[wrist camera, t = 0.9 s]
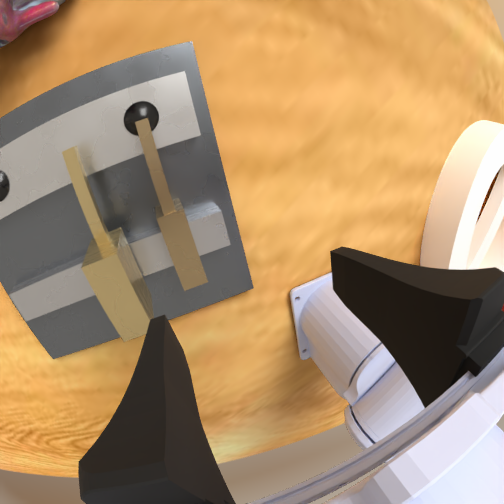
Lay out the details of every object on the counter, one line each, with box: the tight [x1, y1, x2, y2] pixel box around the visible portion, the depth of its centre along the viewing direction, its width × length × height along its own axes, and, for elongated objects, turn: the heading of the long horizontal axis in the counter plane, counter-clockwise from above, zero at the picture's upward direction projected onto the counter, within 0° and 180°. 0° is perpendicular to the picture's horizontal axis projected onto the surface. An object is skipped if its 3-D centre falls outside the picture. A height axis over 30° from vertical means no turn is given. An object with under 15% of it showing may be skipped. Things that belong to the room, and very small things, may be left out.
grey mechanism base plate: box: [0, 41, 253, 359], centre depth 16 cm, size 18×18×3 cm
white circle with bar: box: [420, 120, 504, 272], centre depth 31 cm, size 28×28×5 cm
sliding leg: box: [62, 145, 154, 342], centre depth 14 cm, size 10×2×4 cm, turn 12°
